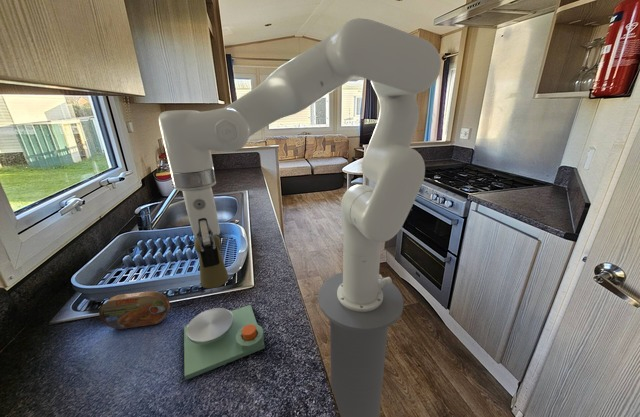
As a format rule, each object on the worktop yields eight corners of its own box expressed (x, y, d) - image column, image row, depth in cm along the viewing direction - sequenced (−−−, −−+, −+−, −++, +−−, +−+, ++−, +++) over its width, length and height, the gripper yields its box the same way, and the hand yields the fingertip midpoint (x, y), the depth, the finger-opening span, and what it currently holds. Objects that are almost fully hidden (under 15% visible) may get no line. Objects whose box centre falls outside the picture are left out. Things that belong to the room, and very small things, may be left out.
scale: (252, 307, 70) (251, 298, 69) (267, 349, 58) (266, 338, 57) (185, 330, 63) (182, 320, 62) (185, 382, 51) (182, 371, 50)
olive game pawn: (216, 290, 56) (207, 245, 52) (194, 285, 58) (183, 241, 54) (234, 274, 61) (227, 232, 57) (213, 270, 63) (205, 229, 59)
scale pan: (230, 305, 67) (229, 302, 66) (236, 333, 58) (236, 330, 58) (186, 319, 63) (186, 316, 62) (187, 351, 54) (186, 348, 54)
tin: (104, 331, 64) (92, 303, 60) (112, 321, 66) (101, 294, 63) (170, 322, 66) (162, 295, 62) (174, 313, 68) (167, 287, 65)
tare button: (254, 328, 60) (254, 322, 59) (258, 337, 58) (257, 331, 57) (241, 333, 59) (240, 327, 58) (244, 343, 56) (243, 337, 56)
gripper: (219, 186, 45) (234, 274, 52) (211, 167, 59) (223, 238, 66) (170, 193, 42) (192, 285, 49) (174, 171, 56) (191, 245, 63)
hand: (210, 257), depth 57 cm, fingers closed on olive game pawn, 5 cm apart
